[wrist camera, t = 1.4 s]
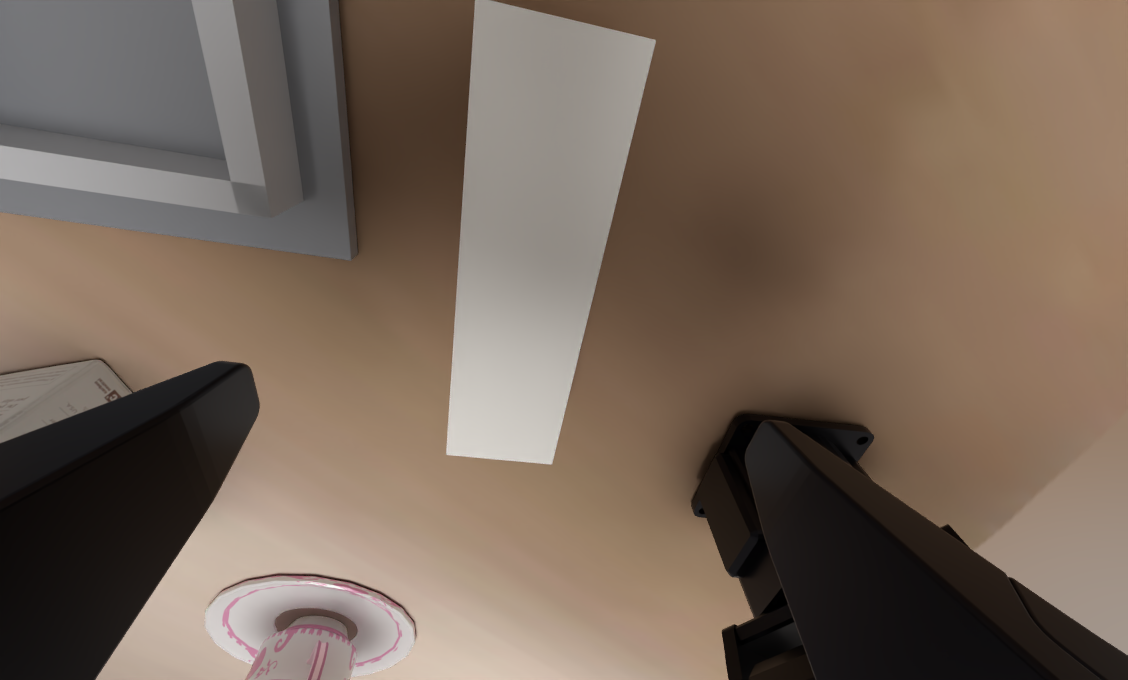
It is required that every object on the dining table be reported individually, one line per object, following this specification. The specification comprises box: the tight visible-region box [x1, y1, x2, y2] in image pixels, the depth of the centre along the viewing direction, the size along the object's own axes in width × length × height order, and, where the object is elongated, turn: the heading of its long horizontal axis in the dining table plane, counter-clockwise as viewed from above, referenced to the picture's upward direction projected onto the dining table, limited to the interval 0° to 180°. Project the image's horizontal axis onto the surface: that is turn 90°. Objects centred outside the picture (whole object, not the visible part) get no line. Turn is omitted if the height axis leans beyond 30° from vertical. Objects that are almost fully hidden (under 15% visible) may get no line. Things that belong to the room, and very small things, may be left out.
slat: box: [446, 0, 656, 464], centre depth 13 cm, size 4×12×4 cm, turn 169°
